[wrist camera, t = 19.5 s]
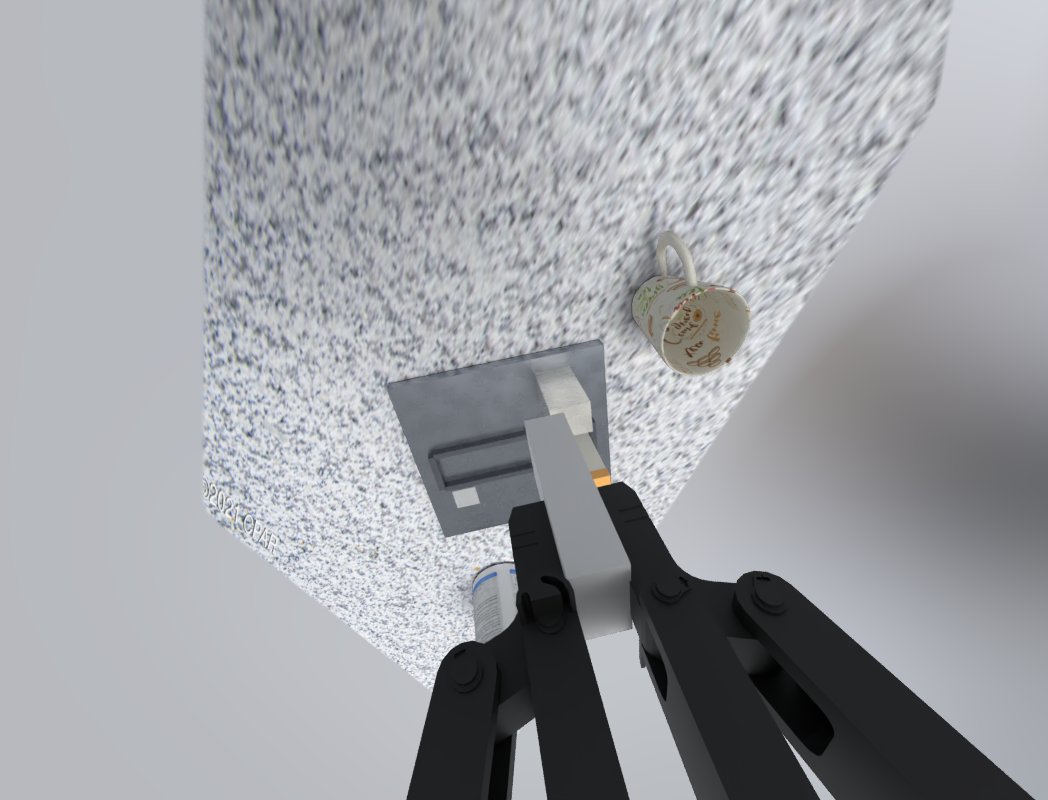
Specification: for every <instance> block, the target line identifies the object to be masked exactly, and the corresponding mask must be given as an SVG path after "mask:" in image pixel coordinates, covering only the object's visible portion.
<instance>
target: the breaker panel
mask: <svg viewBox="0 0 1048 800" xmlns="http://www.w3.org/2000/svg"><path fill="white" fill-rule="evenodd" d="M387 391H388V394H389V396H390V399H391V401H392V404H393V406H394V409H395V411H396V414H397V416H398V419H399V421H400V424H401V427H402V429H403V432H404V434H405V437H406V439H407V442H408V444H409V447H410V449H411V452H412V454H413V457H414V460H415V462H416V465H417V467H418V470H419V472H420V475H421V477H422V480H423V482H424V485H425V487H426V490H427V493H428V495H429V498H430V500H431V503H432V505H433V508H434V510H435V513H436V515H437V518H438V520H439V523H440V525H441V528H442V531H443V533H444V536H445V538H446V537H450V536H454V535H459V534H463V533H467V532H472V531H476V530H481V529H485V528H489V527H494V526H498V525H502V524H507V523H508V521H509V518H510V515H511V511H512V508H513V507H517V506H521V505H525V504H530V503H534V502H539V501H541V499H540V495H539V491H538V488H537V484H536V480H535V476H534V471H533V465H532V460H531V455H530V450H529V445H528V440H527V434H526V429H525V424H524V421H526V420H531V419H535V418H540V417H545V416H549V415H554V414H558V413H564V415H565V417H566V419H567V422H568V424H569V426H570V428H571V431H572V433H573V435H574V436H575V435H579V434H584V433H588V434H589V436H590V438H591V440H592V442H593V444H594V446H595V448H596V450H597V452H598V454H599V456H600V457H601V459H602V461H603V463H604V465H605V467H606V468H607V470H608V472H609V474H610V480H611V470H610V452H609V435H608V417H607V400H606V382H605V364H604V347H603V343H602V342H601V341H600V340H594V341H589V342H585V343H580V344H575V345H570V346H566V347H561V348H556V349H551V350H547V351H542V352H537V353H532V354H527V355H523V356H518V357H513V358H508V359H504V360H499V361H494V362H489V363H485V364H480V365H475V366H470V367H465V368H461V369H456V370H451V371H446V372H442V373H437V374H432V375H427V376H423V377H418V378H413V379H408V380H404V381H399V382H394V383H389V385H388V389H387Z"/></svg>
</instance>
